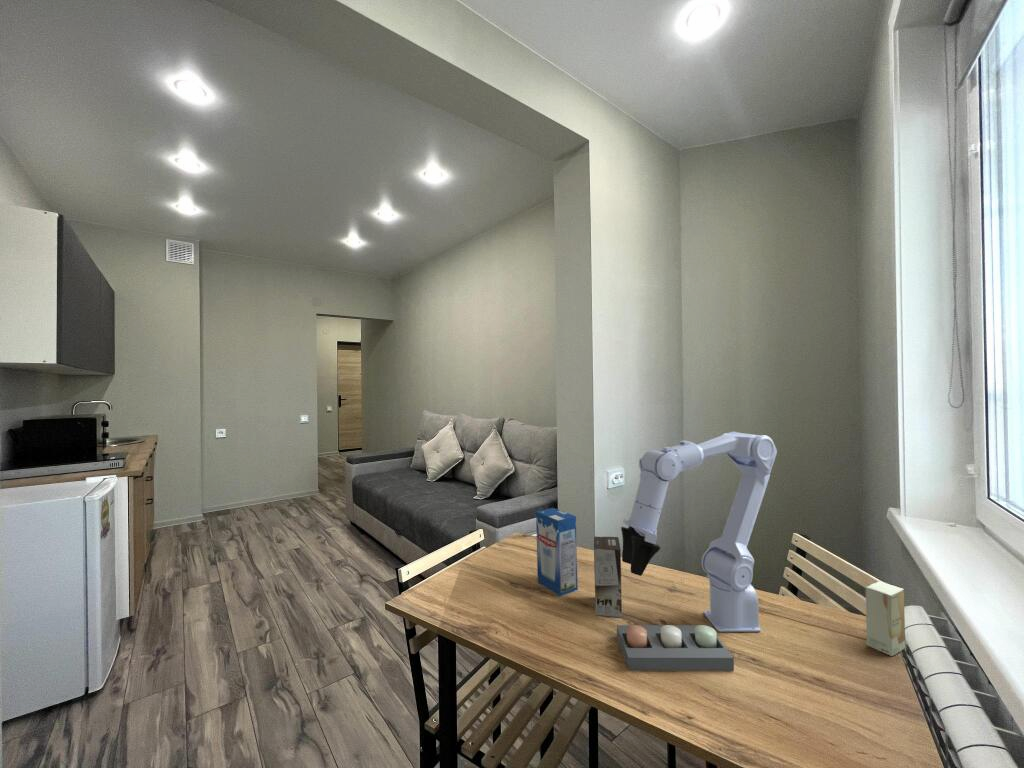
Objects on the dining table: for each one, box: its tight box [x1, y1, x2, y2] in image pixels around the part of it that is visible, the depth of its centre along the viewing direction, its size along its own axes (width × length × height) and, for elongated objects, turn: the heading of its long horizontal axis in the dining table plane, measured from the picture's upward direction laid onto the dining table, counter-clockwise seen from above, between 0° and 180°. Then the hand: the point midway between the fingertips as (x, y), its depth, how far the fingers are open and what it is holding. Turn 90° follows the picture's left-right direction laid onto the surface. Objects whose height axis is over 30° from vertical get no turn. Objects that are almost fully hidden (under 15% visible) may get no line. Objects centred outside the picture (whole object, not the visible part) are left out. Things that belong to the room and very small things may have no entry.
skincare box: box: [865, 580, 906, 657], centre depth 87 cm, size 6×4×12 cm
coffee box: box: [593, 536, 623, 618], centre depth 105 cm, size 9×6×16 cm
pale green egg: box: [695, 624, 717, 648], centre depth 86 cm, size 4×4×3 cm
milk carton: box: [535, 507, 578, 597], centre depth 116 cm, size 10×6×20 cm, turn 33°
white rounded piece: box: [661, 624, 682, 648], centre depth 86 cm, size 4×4×3 cm
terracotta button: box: [627, 624, 647, 648], centre depth 87 cm, size 4×4×3 cm
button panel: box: [616, 624, 735, 672], centre depth 86 cm, size 20×11×2 cm, turn 88°
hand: (631, 568), depth 89 cm, fingers open, 7 cm apart
